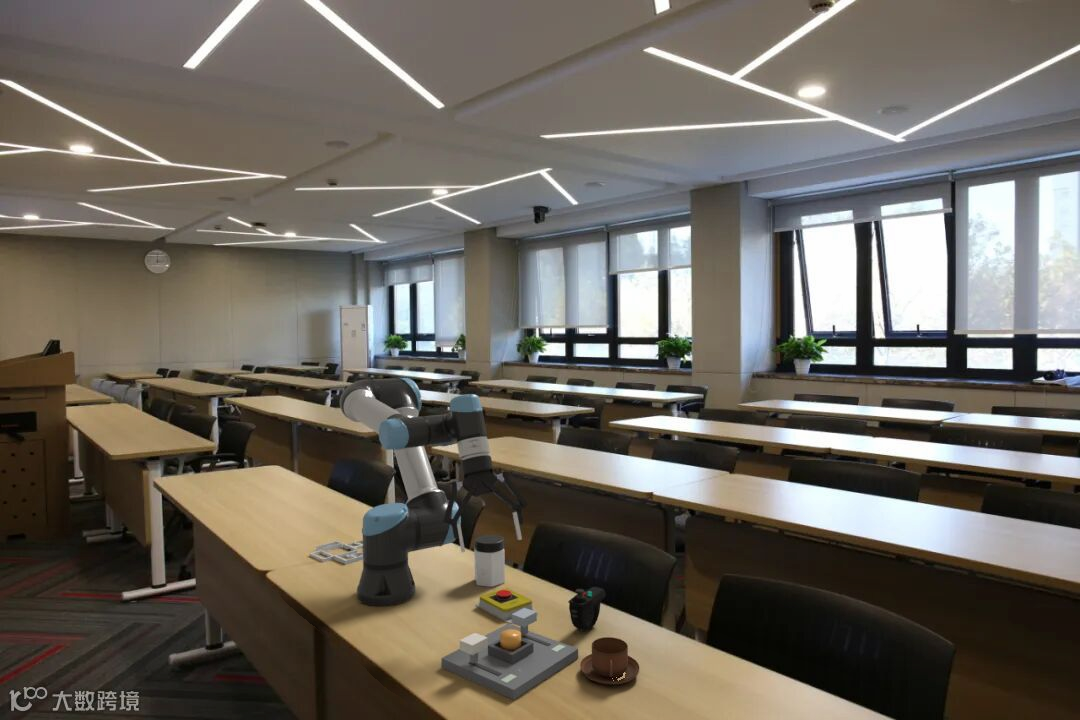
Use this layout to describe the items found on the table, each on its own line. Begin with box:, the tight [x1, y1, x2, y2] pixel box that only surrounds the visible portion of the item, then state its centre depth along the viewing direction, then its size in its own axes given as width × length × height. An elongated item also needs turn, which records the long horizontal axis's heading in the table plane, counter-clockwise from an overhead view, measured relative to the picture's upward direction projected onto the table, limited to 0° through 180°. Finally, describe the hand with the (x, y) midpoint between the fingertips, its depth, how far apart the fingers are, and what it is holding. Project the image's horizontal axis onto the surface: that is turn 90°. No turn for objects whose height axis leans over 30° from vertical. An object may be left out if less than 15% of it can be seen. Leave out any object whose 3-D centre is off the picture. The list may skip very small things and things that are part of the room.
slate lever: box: [511, 608, 538, 635], centre depth 152 cm, size 4×4×5 cm
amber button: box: [500, 629, 521, 650], centre depth 144 cm, size 4×4×2 cm
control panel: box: [441, 623, 579, 701], centre depth 144 cm, size 20×21×4 cm
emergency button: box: [475, 587, 539, 624], centre depth 171 cm, size 9×4×15 cm
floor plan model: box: [309, 539, 363, 565], centre depth 212 cm, size 19×25×2 cm
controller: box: [567, 586, 607, 632], centre depth 160 cm, size 4×12×10 cm, turn 145°
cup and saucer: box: [579, 636, 640, 686], centre depth 139 cm, size 12×12×6 cm
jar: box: [473, 534, 506, 588], centre depth 190 cm, size 9×8×12 cm
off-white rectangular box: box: [459, 632, 488, 663], centre depth 139 cm, size 4×4×5 cm
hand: (491, 546), depth 161 cm, fingers open, 13 cm apart
